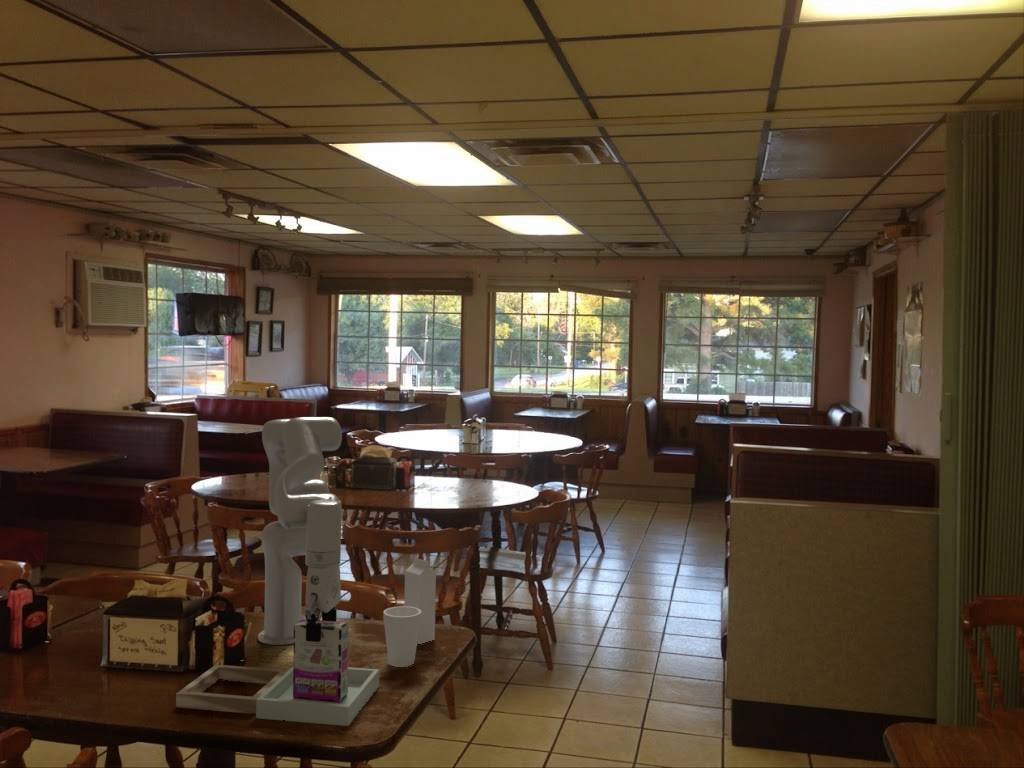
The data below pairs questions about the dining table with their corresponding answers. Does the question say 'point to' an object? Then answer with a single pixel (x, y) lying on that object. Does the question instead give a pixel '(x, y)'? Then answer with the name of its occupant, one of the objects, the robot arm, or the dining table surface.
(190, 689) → the frame
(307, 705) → the green tray
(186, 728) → the dining table surface
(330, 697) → the candy bar box
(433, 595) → the milk
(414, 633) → the foam cup
